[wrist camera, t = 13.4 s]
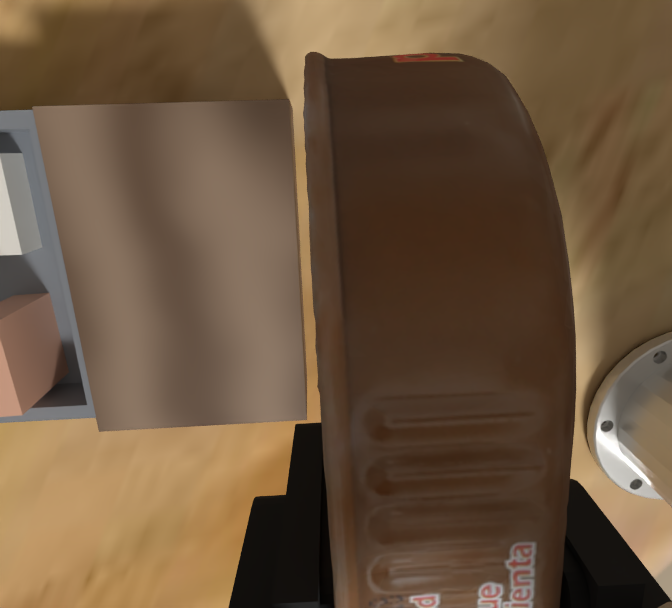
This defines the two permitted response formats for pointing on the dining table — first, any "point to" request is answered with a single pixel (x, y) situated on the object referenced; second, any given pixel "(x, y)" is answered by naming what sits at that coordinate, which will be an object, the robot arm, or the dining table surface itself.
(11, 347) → the terracotta tile
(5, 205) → the cream tile
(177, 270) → the brown flat block
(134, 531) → the dining table surface
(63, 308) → the box
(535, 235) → the tin
